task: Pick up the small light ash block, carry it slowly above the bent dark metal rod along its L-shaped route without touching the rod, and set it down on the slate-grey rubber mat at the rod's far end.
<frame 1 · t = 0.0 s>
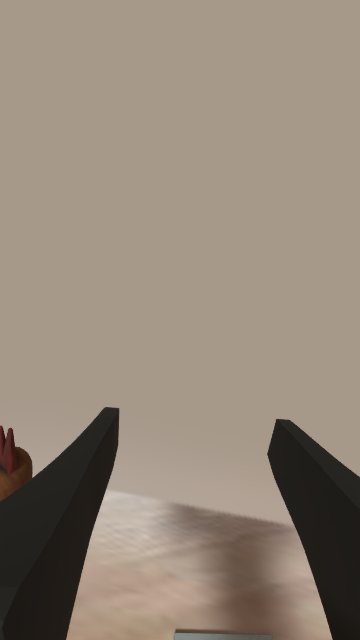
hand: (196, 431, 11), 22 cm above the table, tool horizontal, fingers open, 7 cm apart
wooden figurine: (8, 558, 24), on the table
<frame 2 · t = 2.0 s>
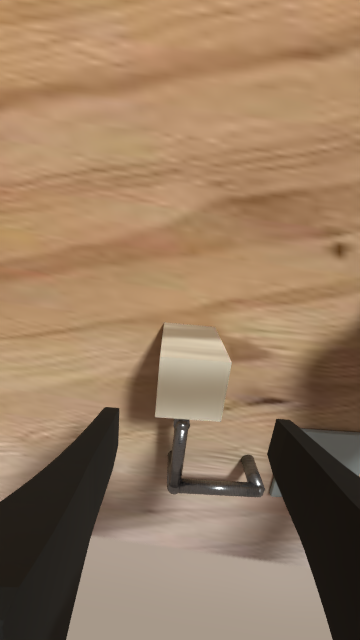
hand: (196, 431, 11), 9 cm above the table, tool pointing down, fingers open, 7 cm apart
bent rod: (215, 431, 23), on the table
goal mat: (318, 464, 24), on the table
ash block: (186, 347, 20), on the table
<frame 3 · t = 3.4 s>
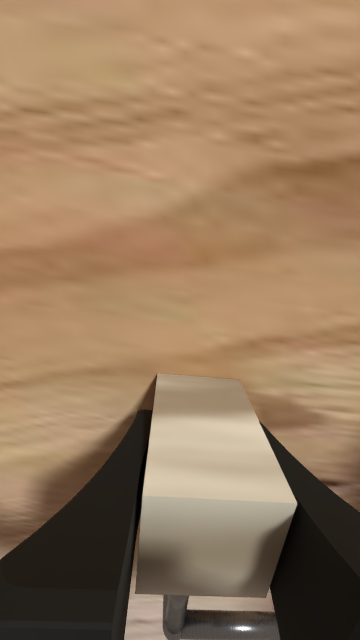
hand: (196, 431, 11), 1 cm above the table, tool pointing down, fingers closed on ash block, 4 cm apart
bent rod: (235, 524, 15), on the table
ash block: (194, 411, 13), on the table, touching gripper
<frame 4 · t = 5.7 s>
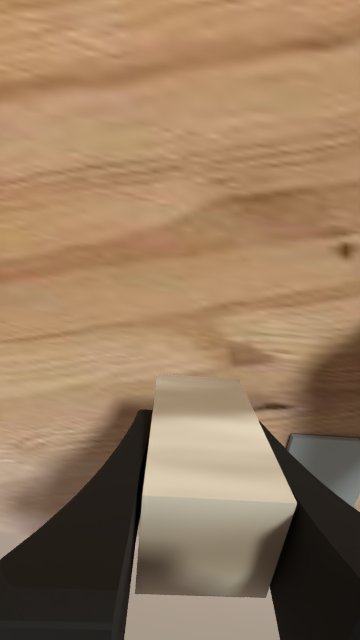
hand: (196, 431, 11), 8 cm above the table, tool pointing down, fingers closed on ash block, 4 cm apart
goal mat: (322, 471, 23), on the table
ash block: (193, 411, 13), point 7 cm above the table, touching gripper
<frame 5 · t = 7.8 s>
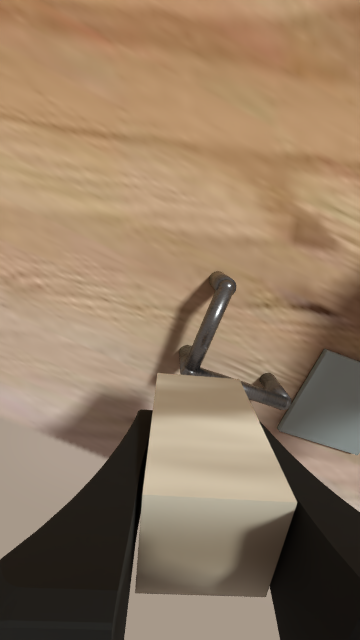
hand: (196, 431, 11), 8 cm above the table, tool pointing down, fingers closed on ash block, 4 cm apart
bent rod: (244, 333, 19), on the table
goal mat: (340, 404, 21), on the table
ash block: (193, 410, 13), point 7 cm above the table, touching gripper
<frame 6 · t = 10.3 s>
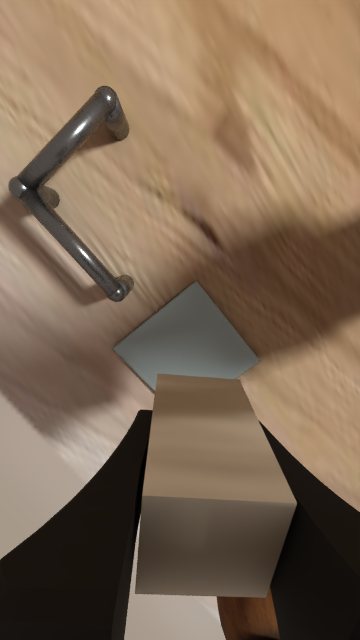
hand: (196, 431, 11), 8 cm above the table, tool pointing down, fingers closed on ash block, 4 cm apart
wooden figurine: (239, 535, 26), on the table
bent rod: (122, 212, 16), on the table
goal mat: (187, 352, 19), on the table
ash block: (193, 411, 13), point 7 cm above the table, touching gripper
when the fingers open (3 cm above the table, at t = 12.2 s): ash block drops 2 cm, resting on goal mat.
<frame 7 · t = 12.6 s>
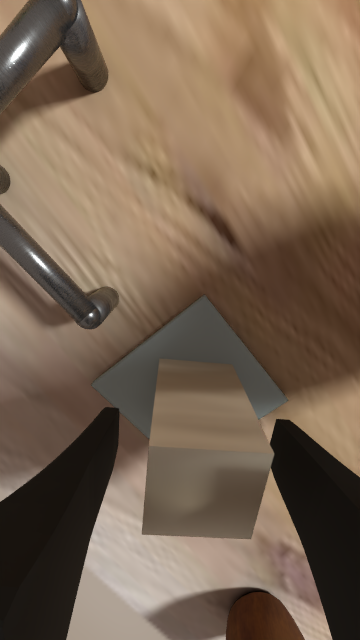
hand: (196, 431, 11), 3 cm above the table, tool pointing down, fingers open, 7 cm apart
wooden figurine: (253, 601, 21), on the table
bent rod: (101, 199, 11), on the table
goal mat: (191, 389, 15), on the table
ash block: (191, 393, 14), resting on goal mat
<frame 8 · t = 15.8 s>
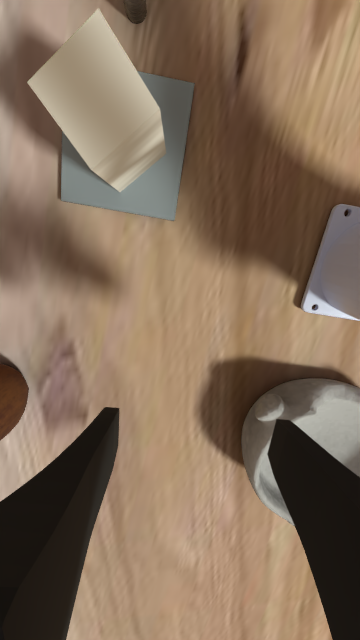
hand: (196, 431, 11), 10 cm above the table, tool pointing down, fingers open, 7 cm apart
wooden figurine: (5, 382, 23), on the table
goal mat: (124, 147, 17), on the table
dish: (306, 430, 25), on the table
ash block: (123, 145, 16), resting on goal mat
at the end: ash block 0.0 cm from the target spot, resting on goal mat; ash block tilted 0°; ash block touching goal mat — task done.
